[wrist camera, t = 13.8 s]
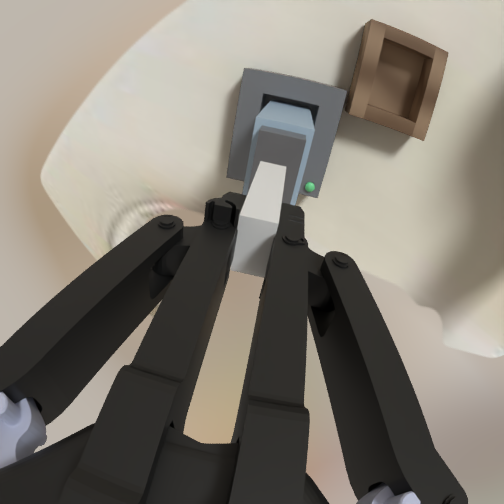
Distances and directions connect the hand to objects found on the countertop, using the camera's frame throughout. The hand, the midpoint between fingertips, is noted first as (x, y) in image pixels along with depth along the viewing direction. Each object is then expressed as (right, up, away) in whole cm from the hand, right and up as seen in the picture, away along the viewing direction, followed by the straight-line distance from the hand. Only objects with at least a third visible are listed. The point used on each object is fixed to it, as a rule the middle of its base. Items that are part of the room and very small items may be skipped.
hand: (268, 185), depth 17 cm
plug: (+3, +9, +13) cm, 16 cm away
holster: (+14, +14, +8) cm, 21 cm away
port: (+3, +9, +13) cm, 17 cm away
